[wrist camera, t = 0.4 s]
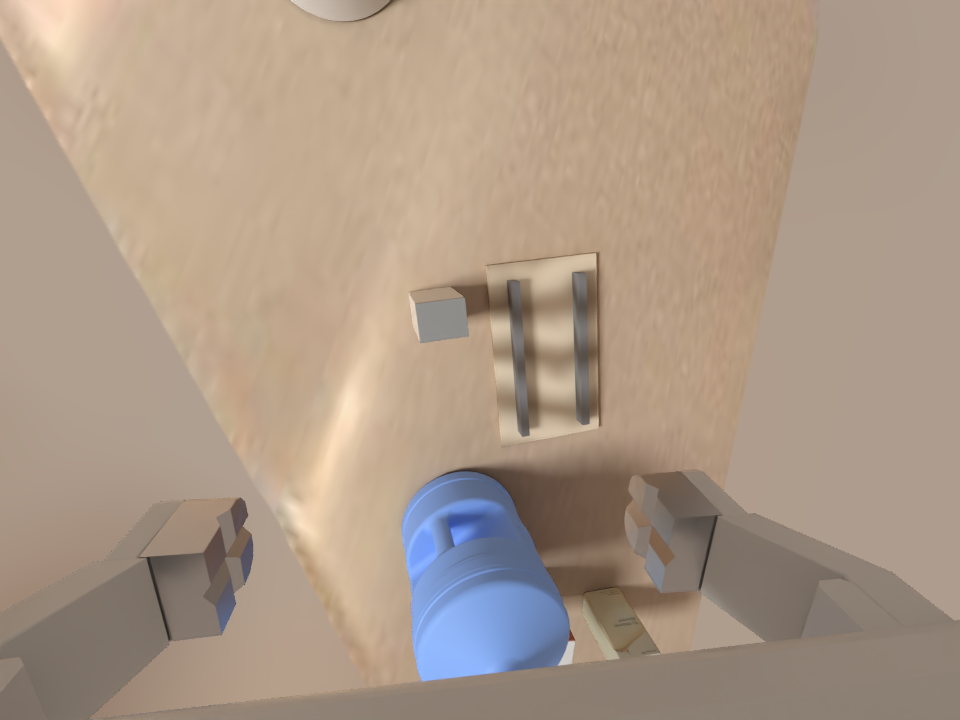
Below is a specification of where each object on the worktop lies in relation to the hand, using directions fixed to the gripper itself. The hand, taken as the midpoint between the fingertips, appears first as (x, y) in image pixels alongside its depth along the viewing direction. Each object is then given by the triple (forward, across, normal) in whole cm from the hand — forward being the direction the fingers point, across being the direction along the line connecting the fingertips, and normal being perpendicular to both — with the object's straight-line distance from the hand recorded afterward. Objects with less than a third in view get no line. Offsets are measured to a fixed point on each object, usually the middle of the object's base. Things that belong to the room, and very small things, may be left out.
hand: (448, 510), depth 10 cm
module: (+45, -1, +6) cm, 46 cm away
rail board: (+46, -16, +12) cm, 50 cm away
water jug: (+44, -4, +35) cm, 57 cm away
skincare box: (+46, -27, +54) cm, 76 cm away
